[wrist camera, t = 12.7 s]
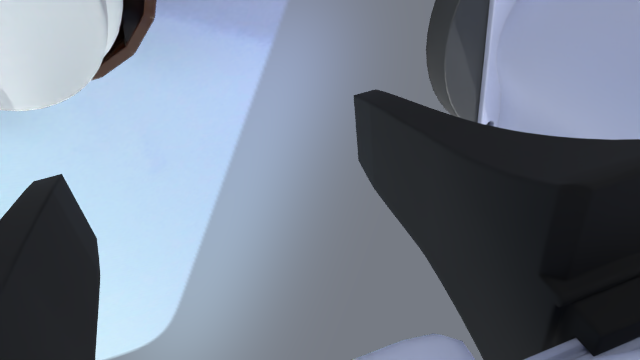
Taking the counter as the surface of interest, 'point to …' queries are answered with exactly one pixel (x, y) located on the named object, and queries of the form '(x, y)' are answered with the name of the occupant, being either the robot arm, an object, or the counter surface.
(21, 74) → the pill bottle
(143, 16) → the cup
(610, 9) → the robot arm
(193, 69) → the counter surface
